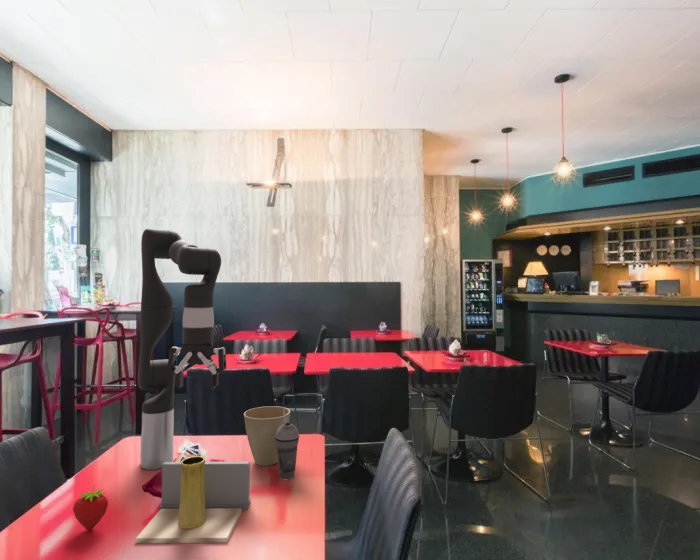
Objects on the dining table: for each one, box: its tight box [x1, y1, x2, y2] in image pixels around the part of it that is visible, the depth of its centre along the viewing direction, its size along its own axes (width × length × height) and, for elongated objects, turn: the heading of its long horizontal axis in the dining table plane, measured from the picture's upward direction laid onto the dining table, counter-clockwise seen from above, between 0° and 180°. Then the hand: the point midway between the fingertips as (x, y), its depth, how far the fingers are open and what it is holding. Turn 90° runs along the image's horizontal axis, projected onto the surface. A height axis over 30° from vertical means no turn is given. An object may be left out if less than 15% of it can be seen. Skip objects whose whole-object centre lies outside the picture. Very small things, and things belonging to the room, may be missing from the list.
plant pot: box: [243, 405, 291, 467], centre depth 130 cm, size 15×15×16 cm
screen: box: [158, 461, 252, 512], centre depth 102 cm, size 22×4×11 cm, turn 91°
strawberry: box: [72, 484, 109, 531], centre depth 92 cm, size 6×8×10 cm
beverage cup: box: [275, 409, 300, 480], centre depth 119 cm, size 7×7×20 cm
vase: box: [178, 455, 206, 529], centre depth 93 cm, size 6×6×14 cm
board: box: [135, 508, 242, 544], centre depth 93 cm, size 20×12×1 cm, turn 91°
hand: (196, 387), depth 102 cm, fingers open, 8 cm apart
